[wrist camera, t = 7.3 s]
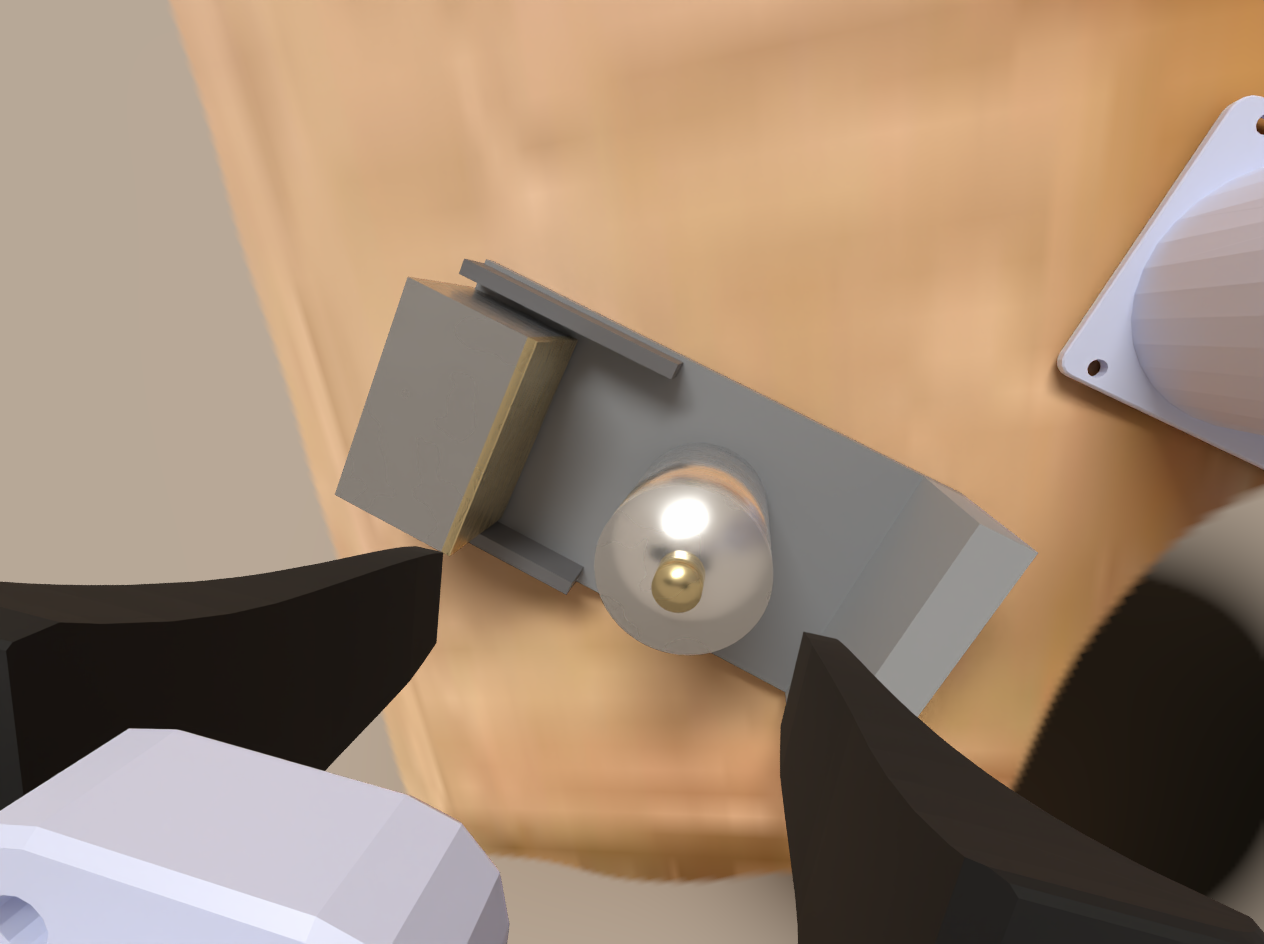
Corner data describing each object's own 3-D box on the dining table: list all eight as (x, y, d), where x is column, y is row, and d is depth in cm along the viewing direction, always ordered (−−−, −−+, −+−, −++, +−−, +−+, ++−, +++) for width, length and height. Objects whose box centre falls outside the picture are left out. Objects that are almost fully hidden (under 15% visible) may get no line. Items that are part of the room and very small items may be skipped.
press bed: (961, 493, 20) (1038, 552, 15) (821, 702, 23) (842, 818, 17) (493, 261, 21) (405, 237, 16) (409, 484, 24) (309, 529, 18)
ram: (577, 340, 20) (537, 342, 17) (501, 517, 22) (449, 556, 18) (471, 286, 21) (407, 276, 17) (405, 467, 23) (334, 494, 19)
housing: (771, 446, 20) (781, 503, 14) (763, 574, 21) (768, 686, 15) (637, 440, 21) (583, 490, 14) (635, 563, 22) (584, 664, 15)
